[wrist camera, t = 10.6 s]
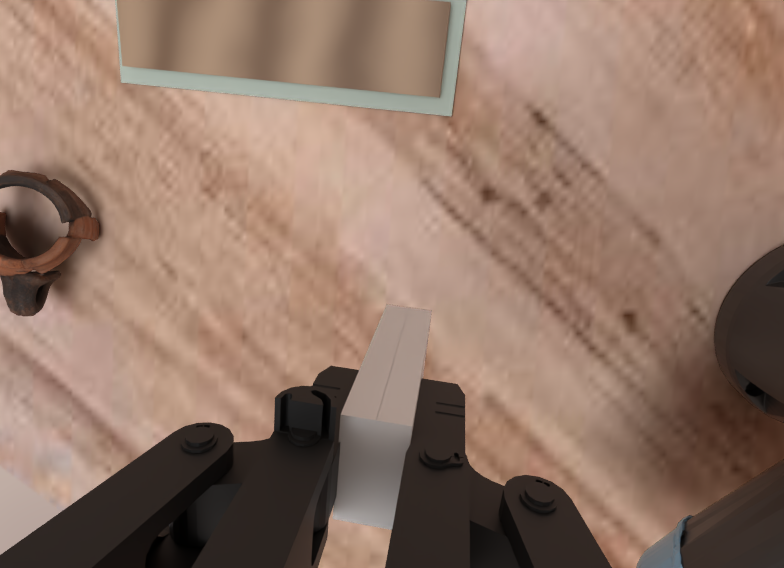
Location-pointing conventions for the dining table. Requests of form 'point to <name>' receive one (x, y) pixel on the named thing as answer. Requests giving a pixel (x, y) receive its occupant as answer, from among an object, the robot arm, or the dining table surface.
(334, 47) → the plank
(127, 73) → the underlay mat
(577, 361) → the dining table surface
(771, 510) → the robot arm
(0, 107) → the dining table surface
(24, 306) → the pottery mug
